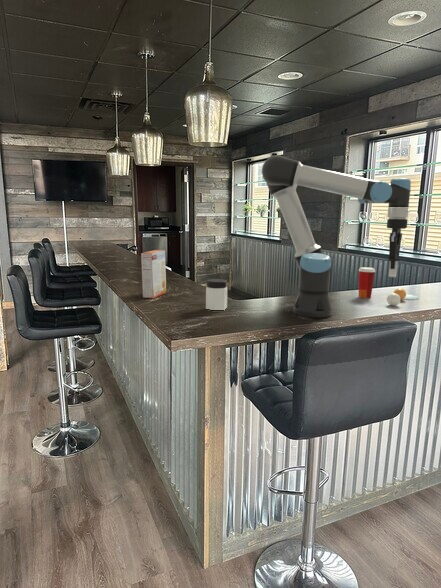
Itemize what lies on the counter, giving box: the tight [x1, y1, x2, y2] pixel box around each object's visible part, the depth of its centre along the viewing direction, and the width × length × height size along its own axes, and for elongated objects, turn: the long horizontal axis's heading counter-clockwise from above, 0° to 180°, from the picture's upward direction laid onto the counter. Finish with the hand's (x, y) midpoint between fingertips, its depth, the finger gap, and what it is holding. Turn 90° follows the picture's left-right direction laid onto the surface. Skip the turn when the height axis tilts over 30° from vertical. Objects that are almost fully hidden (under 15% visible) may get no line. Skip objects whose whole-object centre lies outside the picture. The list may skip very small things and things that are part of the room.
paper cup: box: [357, 266, 376, 299], centre depth 197 cm, size 8×8×14 cm
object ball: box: [393, 287, 407, 301], centre depth 192 cm, size 6×6×6 cm
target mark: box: [386, 293, 420, 301], centre depth 200 cm, size 14×14×1 cm
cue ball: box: [386, 292, 401, 307], centre depth 180 cm, size 6×6×6 cm
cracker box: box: [140, 249, 167, 299], centre depth 193 cm, size 14×6×21 cm, turn 162°
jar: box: [205, 278, 228, 311], centre depth 169 cm, size 9×8×12 cm
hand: (392, 276), depth 170 cm, fingers closed
